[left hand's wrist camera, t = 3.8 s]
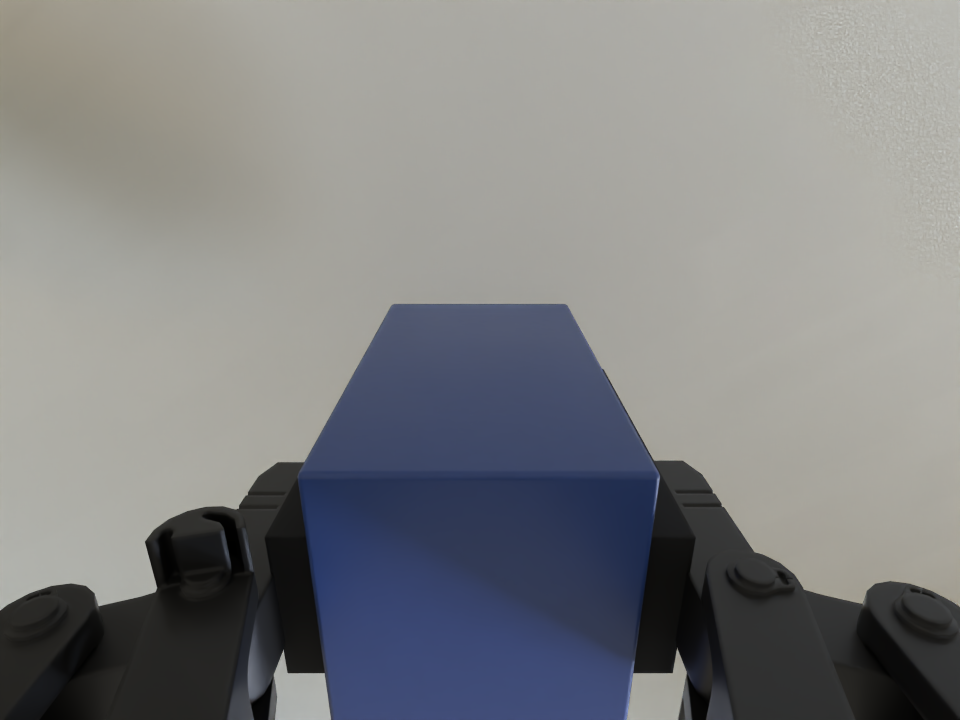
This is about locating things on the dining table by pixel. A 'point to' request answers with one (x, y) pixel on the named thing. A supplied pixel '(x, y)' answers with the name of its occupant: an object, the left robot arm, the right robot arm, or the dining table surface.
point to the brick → (478, 523)
